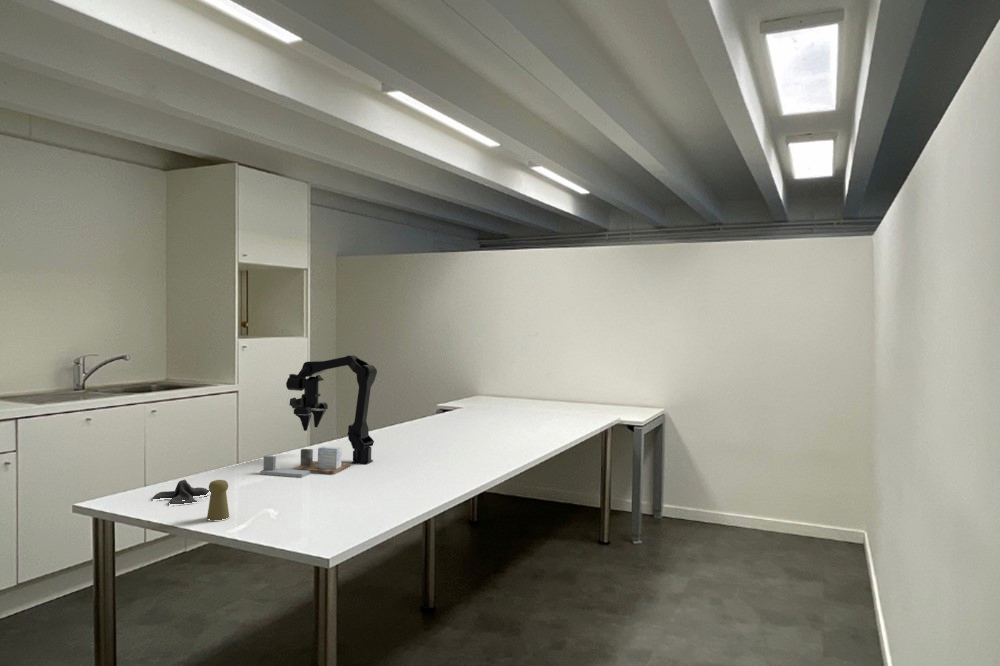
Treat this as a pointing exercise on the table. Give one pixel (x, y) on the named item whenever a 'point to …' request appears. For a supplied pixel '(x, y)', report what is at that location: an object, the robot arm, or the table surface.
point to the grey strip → (272, 470)
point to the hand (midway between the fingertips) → (310, 429)
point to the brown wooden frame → (315, 464)
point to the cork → (218, 500)
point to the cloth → (182, 493)
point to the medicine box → (329, 457)
